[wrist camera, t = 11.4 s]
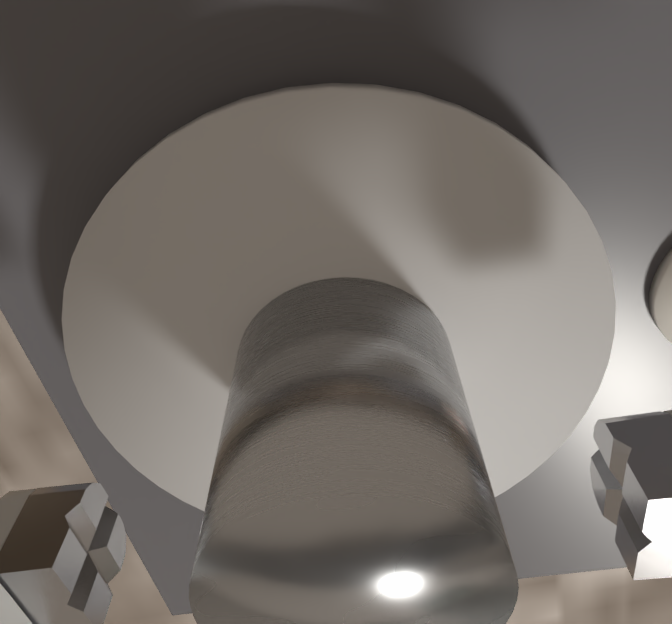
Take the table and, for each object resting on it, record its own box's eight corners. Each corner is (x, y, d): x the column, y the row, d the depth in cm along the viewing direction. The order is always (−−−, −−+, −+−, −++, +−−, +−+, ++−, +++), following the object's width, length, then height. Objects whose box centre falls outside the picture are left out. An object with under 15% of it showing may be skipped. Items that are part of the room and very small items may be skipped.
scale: (949, -390, 9) (1273, -551, 6) (709, 487, 20) (780, 591, 17) (-150, -154, 10) (-352, -186, 7) (187, 547, 21) (163, 653, 18)
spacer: (445, 261, 11) (520, 475, 7) (457, 433, 13) (517, 670, 9) (211, 295, 11) (142, 518, 7) (263, 457, 14) (235, 695, 9)
